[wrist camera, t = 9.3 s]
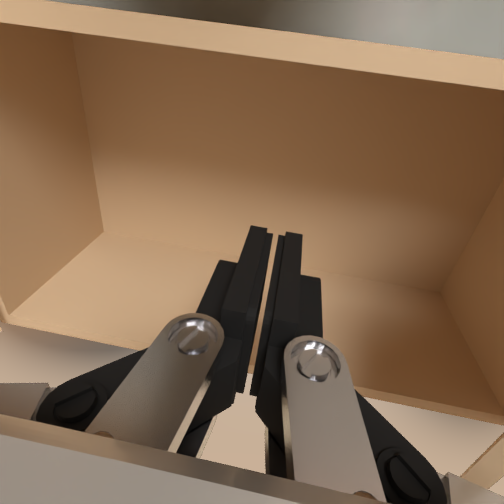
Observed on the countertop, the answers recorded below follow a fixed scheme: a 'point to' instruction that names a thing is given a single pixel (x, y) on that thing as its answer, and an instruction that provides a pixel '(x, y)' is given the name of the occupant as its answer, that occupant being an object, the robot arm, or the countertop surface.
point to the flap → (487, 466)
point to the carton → (256, 188)
